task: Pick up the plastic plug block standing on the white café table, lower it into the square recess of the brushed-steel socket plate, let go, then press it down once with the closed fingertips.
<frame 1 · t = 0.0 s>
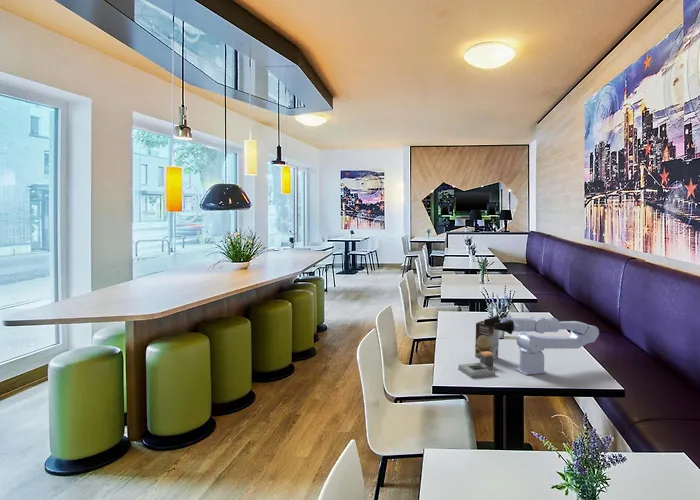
hand: (489, 324, 197), 22 cm above the table, tool horizontal, fingers open, 7 cm apart
socket plate: (476, 372, 203), on the table
plug: (486, 366, 211), on the table
coffee box: (486, 357, 224), on the table
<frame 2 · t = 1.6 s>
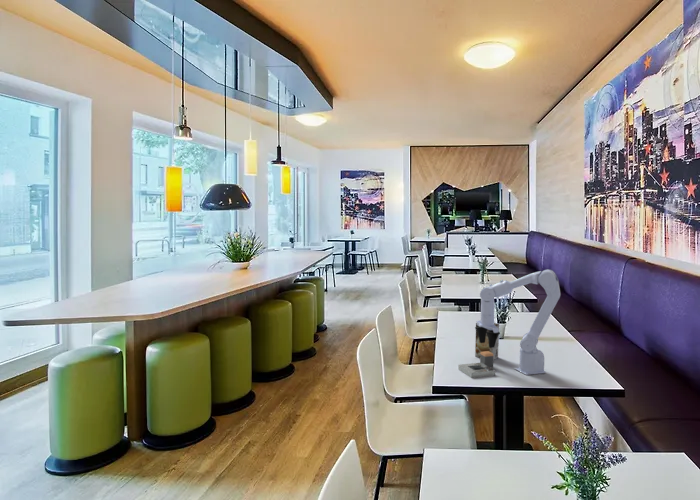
hand: (486, 345, 210), 9 cm above the table, tool pointing down, fingers open, 7 cm apart
nothing on the table moved.
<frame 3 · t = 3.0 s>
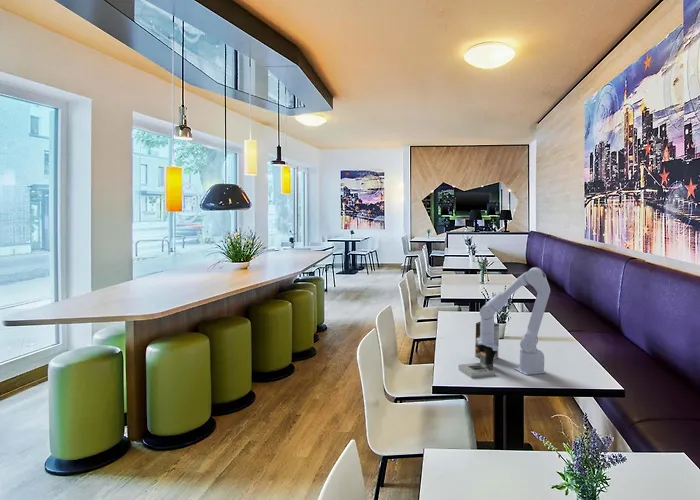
hand: (486, 362, 211), 2 cm above the table, tool pointing down, fingers closed on plug, 4 cm apart
plug: (486, 366, 211), on the table, touching gripper
everything else where it was.
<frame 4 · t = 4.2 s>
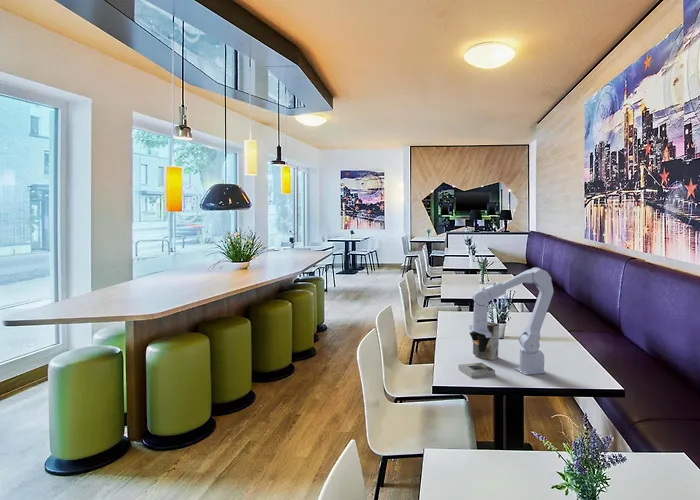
hand: (479, 350, 205), 9 cm above the table, tool pointing down, fingers closed on plug, 4 cm apart
plug: (479, 354, 205), point 7 cm above the table, touching gripper
everything else where it was.
when the fingers open (3 cm above the table, at t = 5.7 s): plug stays where it is, resting on socket plate.
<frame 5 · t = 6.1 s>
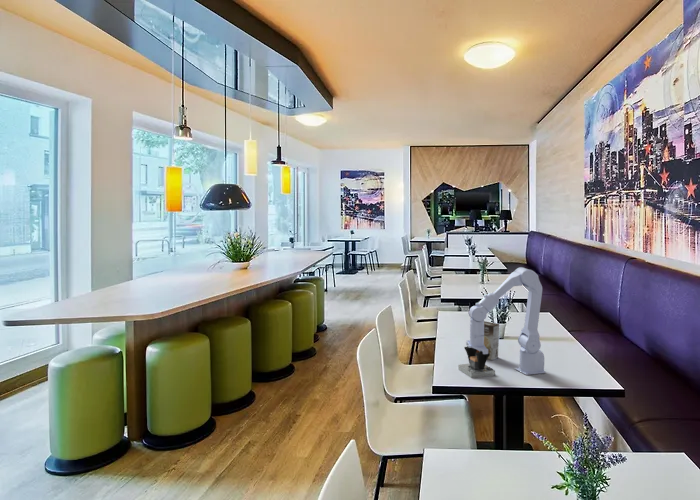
hand: (476, 366, 203), 3 cm above the table, tool pointing down, fingers open, 7 cm apart
plug: (476, 371, 203), resting on socket plate
everything else where it was.
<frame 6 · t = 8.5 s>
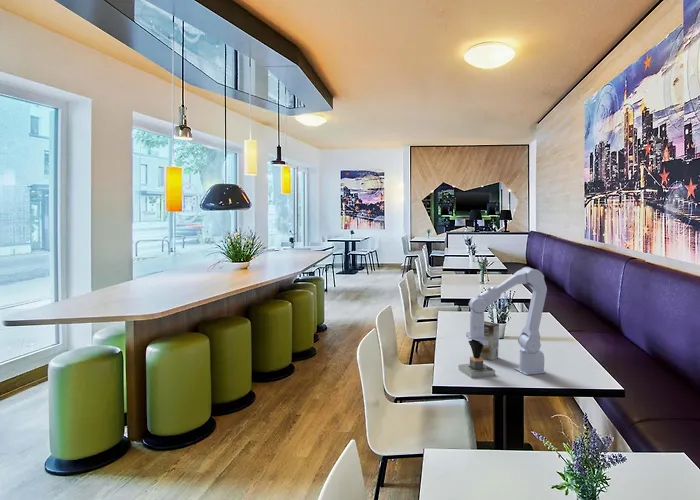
hand: (476, 357, 202), 6 cm above the table, tool pointing down, fingers closed, pressing on plug
plug: (476, 371, 203), resting on socket plate, touching gripper
everything else where it was.
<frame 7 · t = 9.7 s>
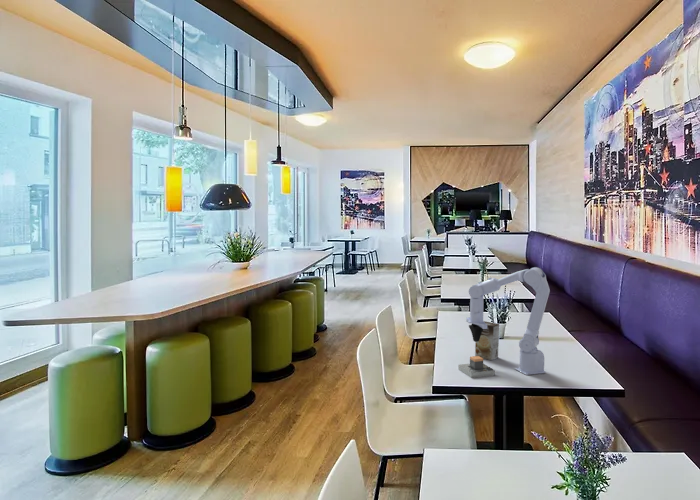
hand: (476, 341, 215), 10 cm above the table, tool pointing down, fingers closed
plug: (476, 371, 203), resting on socket plate
everything else where it was.
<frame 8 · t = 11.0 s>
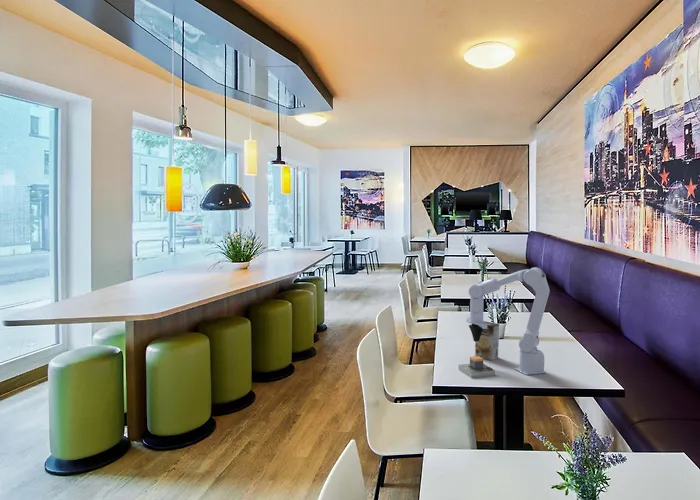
hand: (476, 341, 215), 10 cm above the table, tool pointing down, fingers closed
nothing on the table moved.
at the end: plug 0.0 cm off-centre on the socket plate, point 0.3 cm above the socket plate's base; plug tilted 0°; the gripper is holding nothing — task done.
